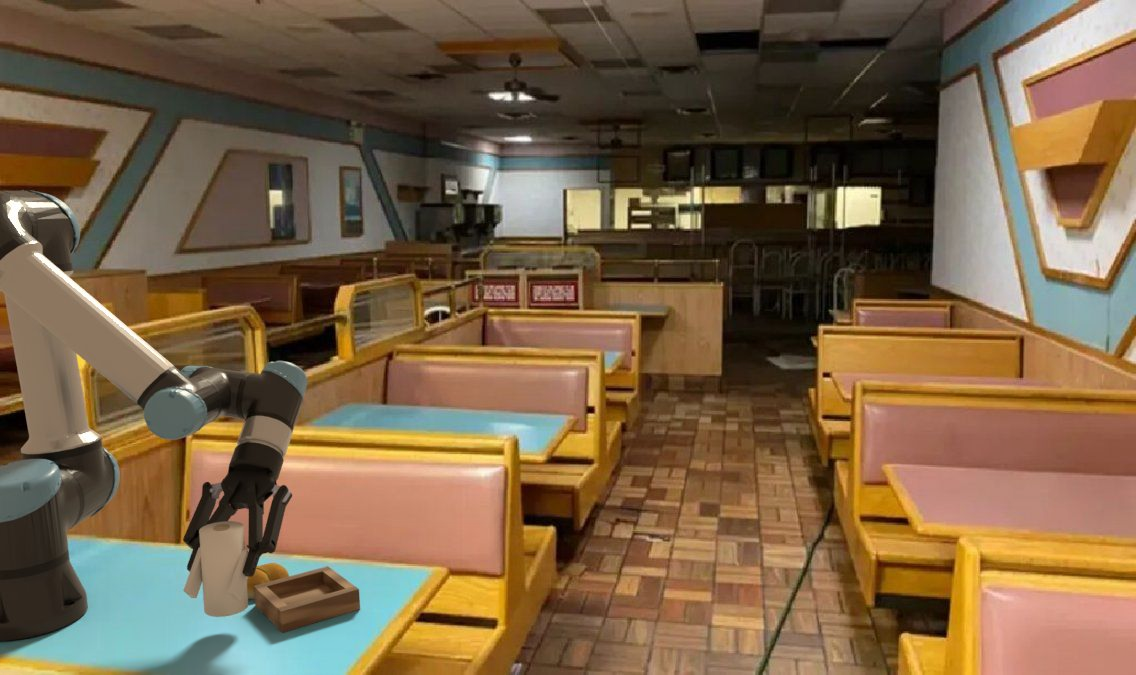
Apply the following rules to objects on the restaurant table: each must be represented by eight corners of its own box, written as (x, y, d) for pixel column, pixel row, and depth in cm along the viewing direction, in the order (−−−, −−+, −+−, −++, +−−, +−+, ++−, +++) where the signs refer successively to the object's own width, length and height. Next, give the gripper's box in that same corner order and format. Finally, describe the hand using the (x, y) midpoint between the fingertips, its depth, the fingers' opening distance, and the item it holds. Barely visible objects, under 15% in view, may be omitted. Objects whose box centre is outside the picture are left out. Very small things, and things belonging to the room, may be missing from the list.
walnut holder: (255, 605, 143) (253, 585, 143) (329, 584, 150) (327, 566, 150) (282, 632, 134) (280, 611, 133) (360, 609, 141) (358, 589, 140)
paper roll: (199, 606, 135) (193, 525, 133) (240, 595, 139) (236, 517, 137) (211, 620, 130) (205, 537, 129) (253, 609, 134) (249, 528, 132)
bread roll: (299, 586, 151) (297, 563, 150) (247, 605, 144) (245, 580, 144) (273, 574, 156) (271, 551, 156) (222, 591, 150) (220, 567, 149)
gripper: (325, 466, 146) (284, 609, 132) (213, 462, 148) (161, 602, 135) (310, 441, 140) (265, 589, 126) (193, 437, 143) (137, 581, 129)
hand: (212, 595), depth 130 cm, fingers closed on paper roll, 6 cm apart
